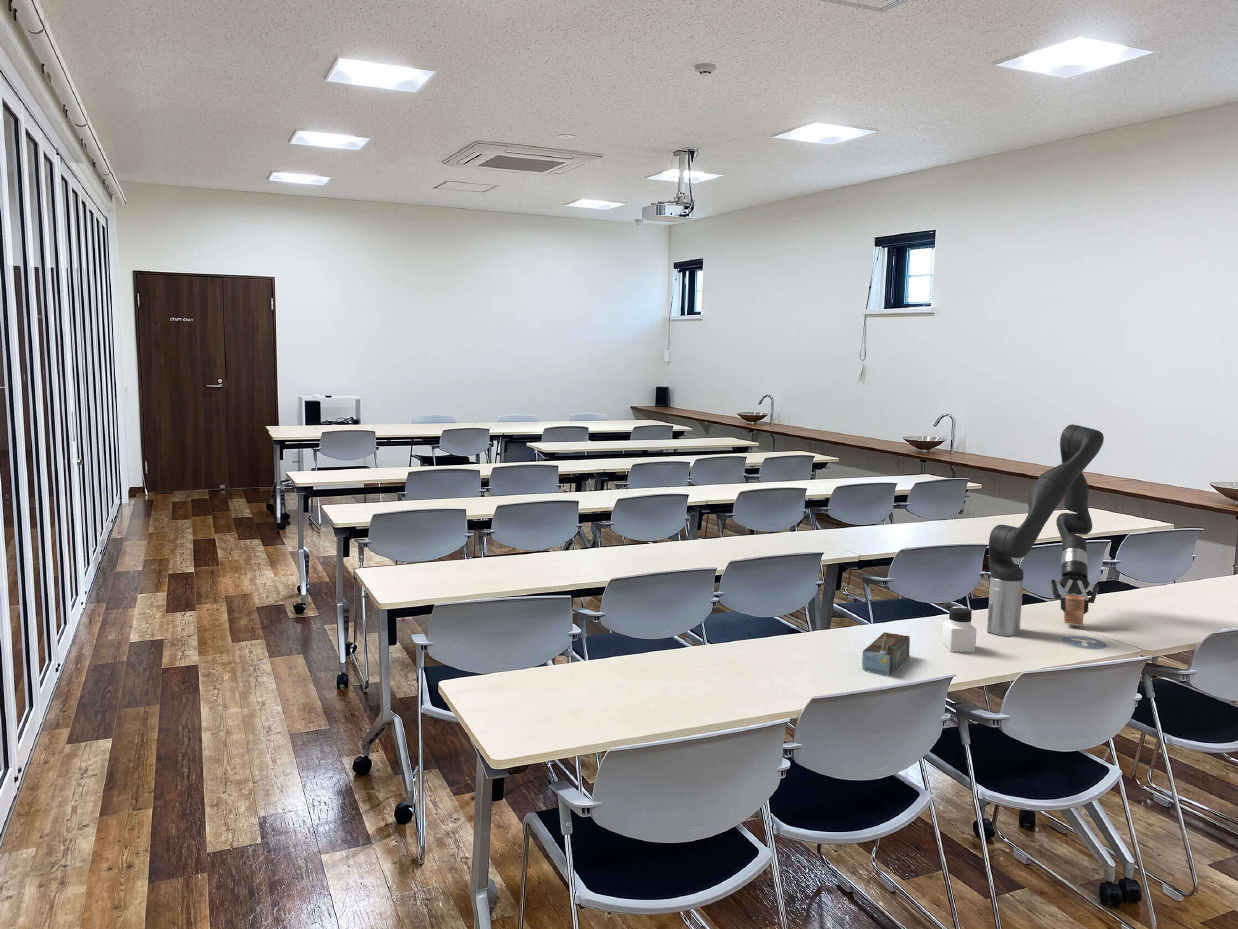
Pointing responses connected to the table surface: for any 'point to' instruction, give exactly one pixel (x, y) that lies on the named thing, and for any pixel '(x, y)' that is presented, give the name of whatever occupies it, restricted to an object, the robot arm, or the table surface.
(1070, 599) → the terracotta block
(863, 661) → the grey boxy piece
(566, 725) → the table surface
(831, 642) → the table surface
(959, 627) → the medicine bottle
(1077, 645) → the letter mat
